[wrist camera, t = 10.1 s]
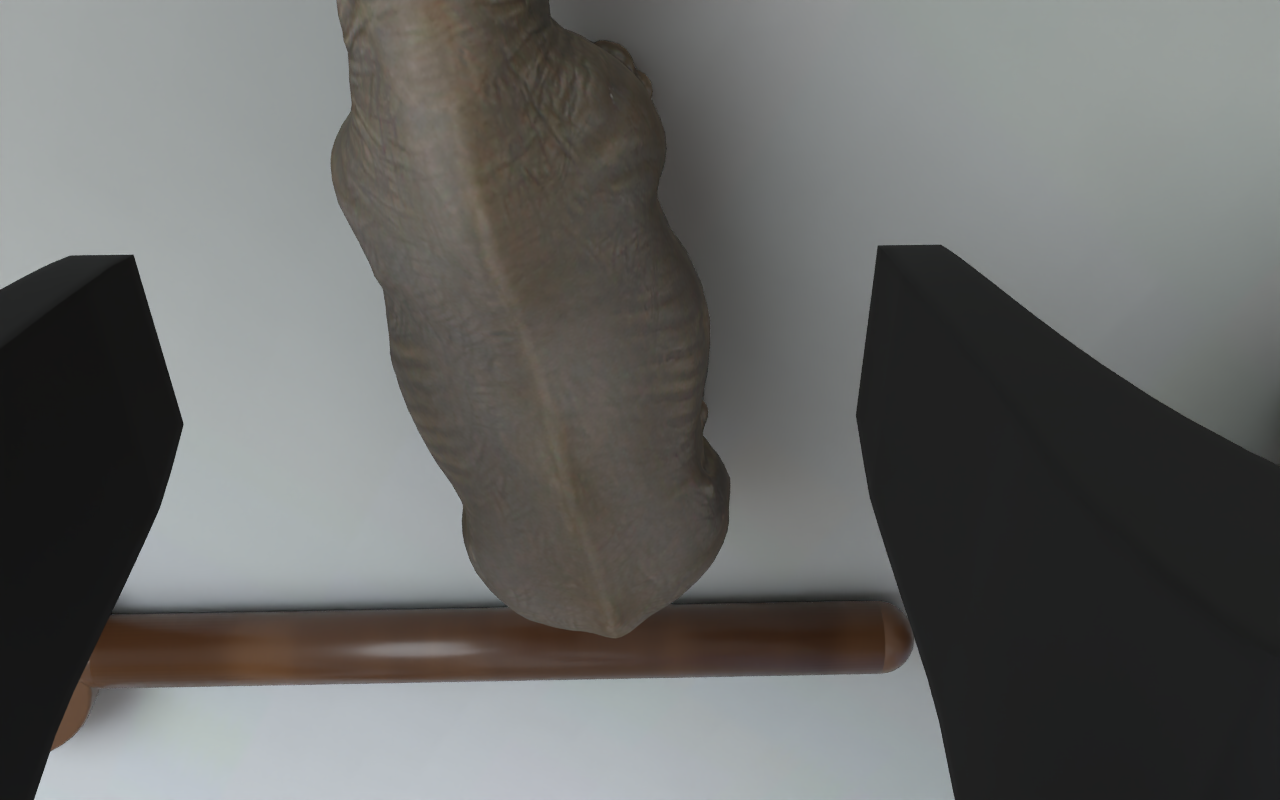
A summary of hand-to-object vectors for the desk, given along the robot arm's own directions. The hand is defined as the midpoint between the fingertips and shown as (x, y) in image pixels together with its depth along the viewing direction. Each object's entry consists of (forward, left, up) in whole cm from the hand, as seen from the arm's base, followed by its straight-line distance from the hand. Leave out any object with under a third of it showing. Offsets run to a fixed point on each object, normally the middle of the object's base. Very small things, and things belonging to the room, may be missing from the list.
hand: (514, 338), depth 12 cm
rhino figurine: (0, 0, -7) cm, 7 cm away
